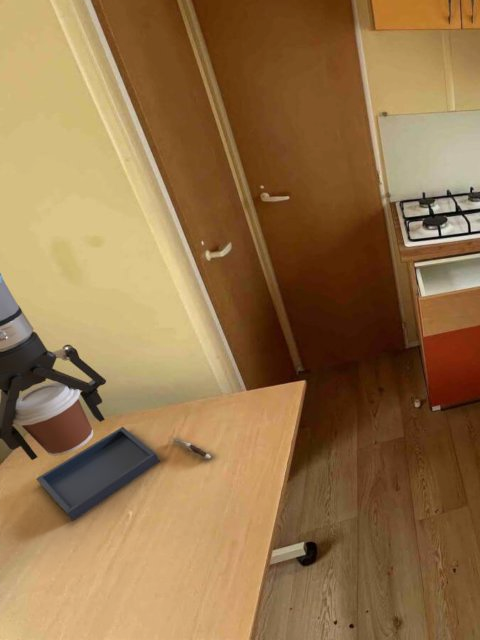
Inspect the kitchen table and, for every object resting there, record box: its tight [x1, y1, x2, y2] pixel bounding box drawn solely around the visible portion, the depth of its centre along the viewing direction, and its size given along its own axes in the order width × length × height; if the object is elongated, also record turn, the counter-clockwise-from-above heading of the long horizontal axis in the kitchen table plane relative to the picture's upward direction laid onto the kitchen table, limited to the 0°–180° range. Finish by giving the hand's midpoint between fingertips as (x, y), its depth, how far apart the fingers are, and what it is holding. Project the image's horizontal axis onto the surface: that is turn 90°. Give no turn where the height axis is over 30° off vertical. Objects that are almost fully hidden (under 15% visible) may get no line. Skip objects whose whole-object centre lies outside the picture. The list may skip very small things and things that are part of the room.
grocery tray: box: [36, 426, 161, 522], centre depth 94 cm, size 16×16×3 cm
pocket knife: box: [172, 437, 211, 460], centre depth 100 cm, size 14×1×2 cm, turn 67°
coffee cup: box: [13, 381, 94, 457], centre depth 78 cm, size 9×9×12 cm
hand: (67, 435), depth 80 cm, fingers closed on coffee cup, 9 cm apart
